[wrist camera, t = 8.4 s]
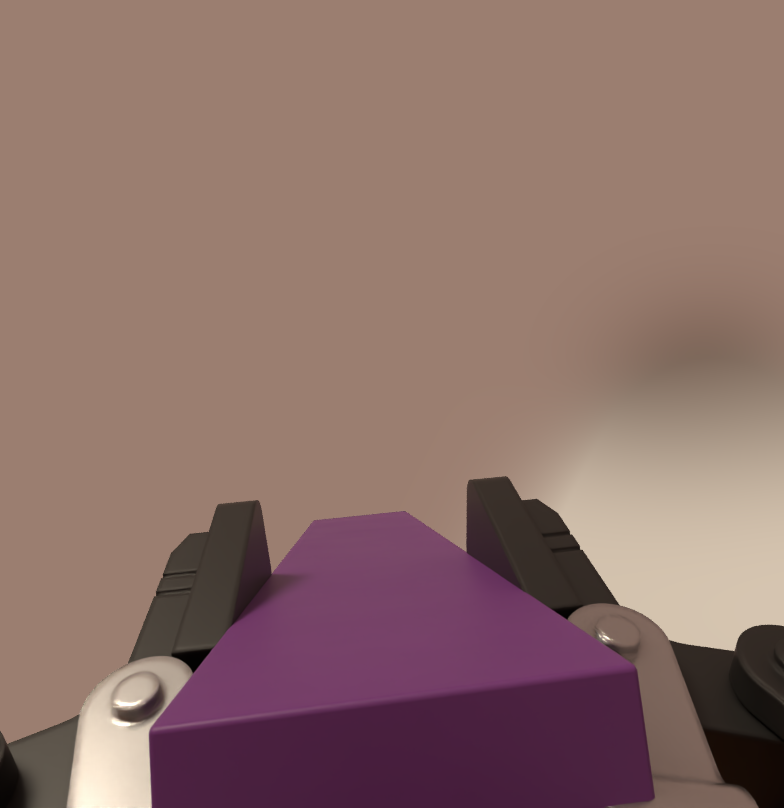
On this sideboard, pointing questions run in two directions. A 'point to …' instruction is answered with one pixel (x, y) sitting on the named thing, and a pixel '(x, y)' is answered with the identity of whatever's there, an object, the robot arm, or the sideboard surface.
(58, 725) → the robot arm
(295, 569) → the chocolate bar
